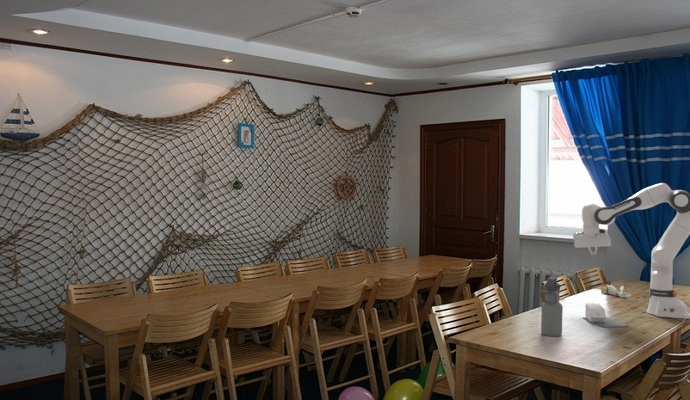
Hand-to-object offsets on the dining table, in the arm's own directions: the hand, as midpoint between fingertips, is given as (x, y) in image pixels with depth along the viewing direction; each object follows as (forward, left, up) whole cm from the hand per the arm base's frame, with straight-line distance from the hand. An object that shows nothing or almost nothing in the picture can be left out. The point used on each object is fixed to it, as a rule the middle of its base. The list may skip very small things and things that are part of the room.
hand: (593, 254), depth 355 cm
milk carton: (-4, +25, -28) cm, 37 cm away
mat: (-12, +35, -32) cm, 49 cm away
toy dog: (-7, -50, -32) cm, 59 cm away
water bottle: (+7, +75, -32) cm, 82 cm away
